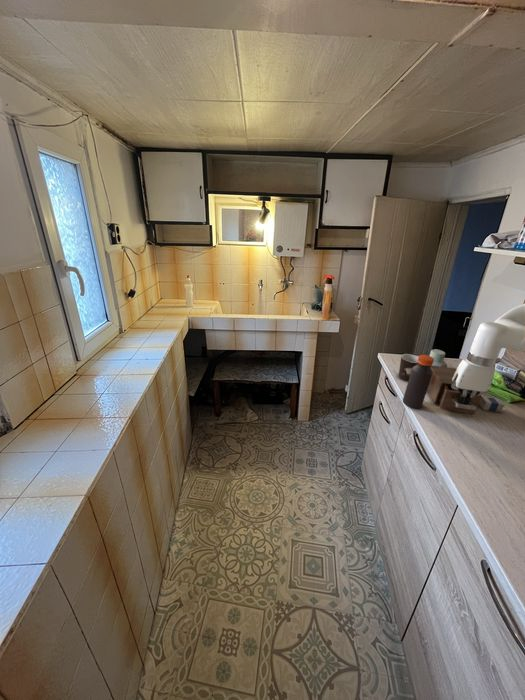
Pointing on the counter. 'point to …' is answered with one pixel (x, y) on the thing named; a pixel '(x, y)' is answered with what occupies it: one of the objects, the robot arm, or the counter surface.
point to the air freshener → (438, 358)
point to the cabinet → (439, 381)
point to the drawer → (456, 401)
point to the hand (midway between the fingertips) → (462, 404)
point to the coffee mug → (407, 366)
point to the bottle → (418, 382)
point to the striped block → (491, 404)
